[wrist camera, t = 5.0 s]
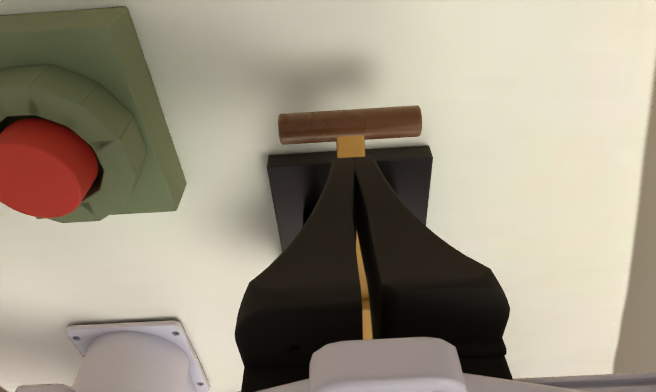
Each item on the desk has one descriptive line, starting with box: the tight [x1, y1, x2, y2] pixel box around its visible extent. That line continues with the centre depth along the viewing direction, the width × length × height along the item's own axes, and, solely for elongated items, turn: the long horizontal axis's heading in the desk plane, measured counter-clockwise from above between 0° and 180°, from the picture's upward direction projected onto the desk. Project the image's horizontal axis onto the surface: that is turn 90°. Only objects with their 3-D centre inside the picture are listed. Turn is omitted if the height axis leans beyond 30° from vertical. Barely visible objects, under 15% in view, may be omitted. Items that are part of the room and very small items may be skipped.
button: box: [0, 118, 98, 218], centre depth 18 cm, size 4×4×2 cm
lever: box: [278, 106, 422, 340], centre depth 19 cm, size 11×6×2 cm, turn 2°
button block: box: [0, 7, 186, 223], centre depth 19 cm, size 9×7×4 cm
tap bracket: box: [267, 146, 433, 252], centre depth 23 cm, size 10×8×8 cm
